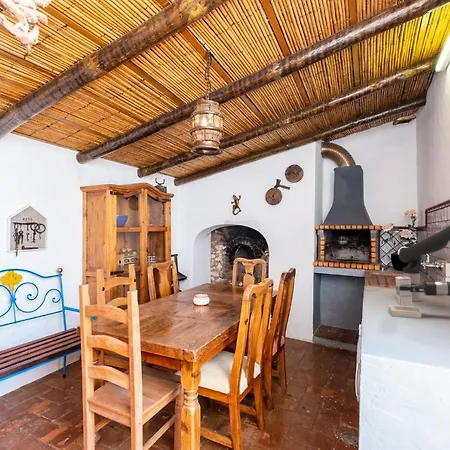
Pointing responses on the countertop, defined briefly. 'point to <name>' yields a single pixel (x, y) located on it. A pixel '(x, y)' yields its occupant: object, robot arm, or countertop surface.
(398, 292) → the syrup box
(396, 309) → the square stand
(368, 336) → the countertop surface
